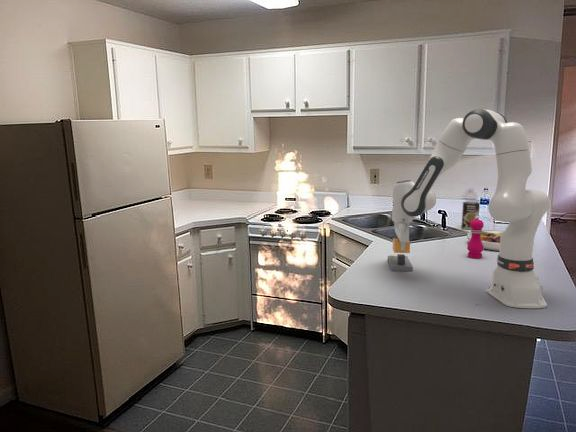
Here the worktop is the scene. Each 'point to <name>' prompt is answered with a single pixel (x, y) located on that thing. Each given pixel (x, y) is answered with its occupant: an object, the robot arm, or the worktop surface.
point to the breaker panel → (399, 267)
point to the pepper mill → (475, 239)
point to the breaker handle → (400, 258)
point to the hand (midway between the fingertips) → (401, 247)
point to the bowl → (489, 239)
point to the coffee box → (469, 214)
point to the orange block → (397, 246)
